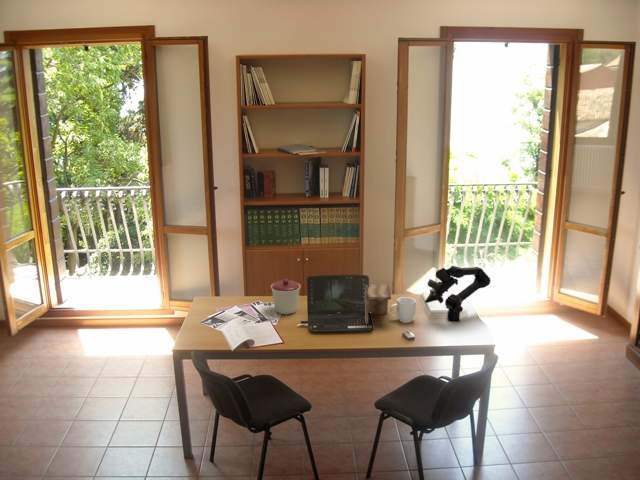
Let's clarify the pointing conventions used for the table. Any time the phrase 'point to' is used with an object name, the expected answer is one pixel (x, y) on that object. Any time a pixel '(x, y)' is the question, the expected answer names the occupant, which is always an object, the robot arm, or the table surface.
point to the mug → (405, 309)
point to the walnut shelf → (376, 299)
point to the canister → (285, 296)
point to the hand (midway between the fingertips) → (425, 302)
